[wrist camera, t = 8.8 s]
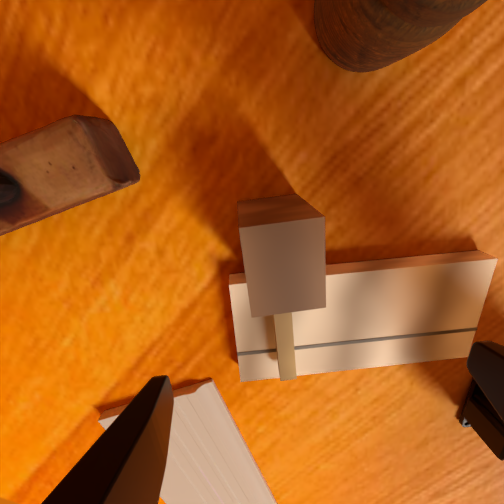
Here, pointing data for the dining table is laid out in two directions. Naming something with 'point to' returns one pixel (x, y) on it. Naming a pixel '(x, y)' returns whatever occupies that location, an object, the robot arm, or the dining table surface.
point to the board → (373, 316)
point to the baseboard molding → (206, 452)
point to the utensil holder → (383, 28)
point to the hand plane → (61, 169)
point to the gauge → (283, 265)
